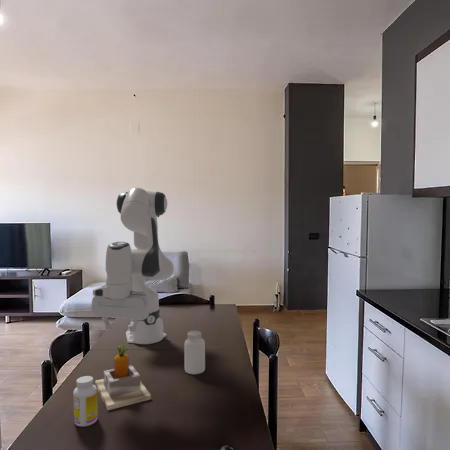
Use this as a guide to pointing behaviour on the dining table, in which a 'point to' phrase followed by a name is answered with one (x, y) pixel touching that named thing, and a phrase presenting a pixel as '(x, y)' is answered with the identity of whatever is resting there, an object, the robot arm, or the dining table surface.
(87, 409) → the supplement bottle
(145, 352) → the dining table surface
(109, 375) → the anchor plate
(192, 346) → the pill bottle
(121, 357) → the carrot
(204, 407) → the dining table surface
